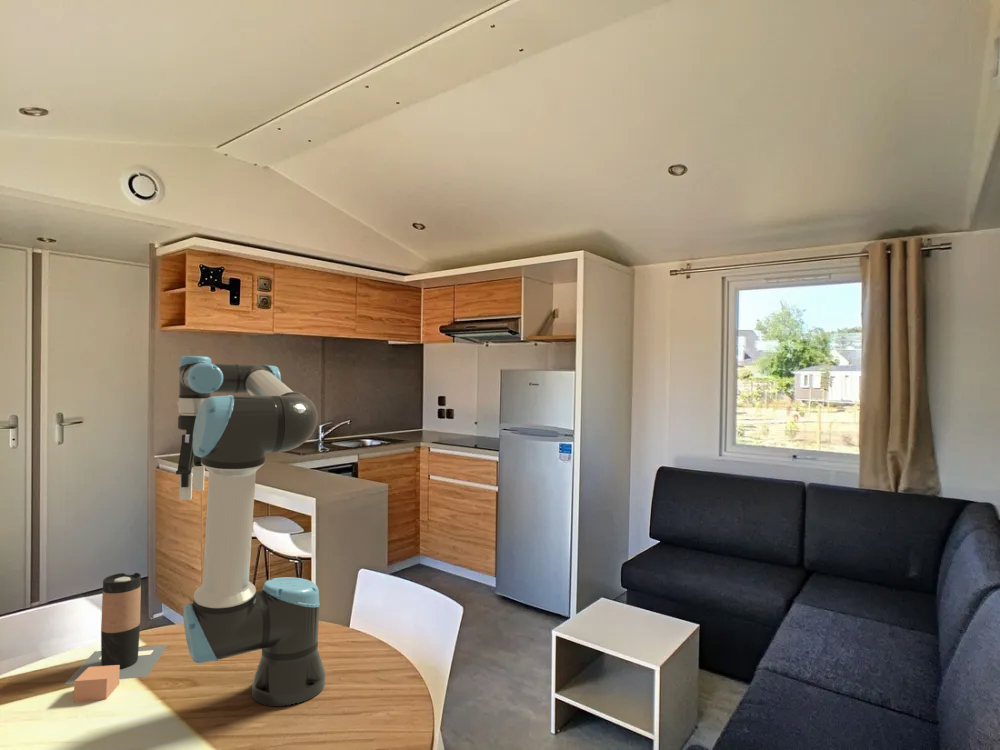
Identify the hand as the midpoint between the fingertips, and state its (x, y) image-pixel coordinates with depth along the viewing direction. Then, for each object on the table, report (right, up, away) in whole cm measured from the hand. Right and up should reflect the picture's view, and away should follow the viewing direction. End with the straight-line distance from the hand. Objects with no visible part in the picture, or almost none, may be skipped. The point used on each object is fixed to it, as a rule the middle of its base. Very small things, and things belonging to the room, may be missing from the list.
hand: (192, 494), depth 154 cm
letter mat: (-7, -36, -18) cm, 41 cm away
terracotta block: (-4, -36, -31) cm, 48 cm away
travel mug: (-7, -36, -18) cm, 41 cm away
